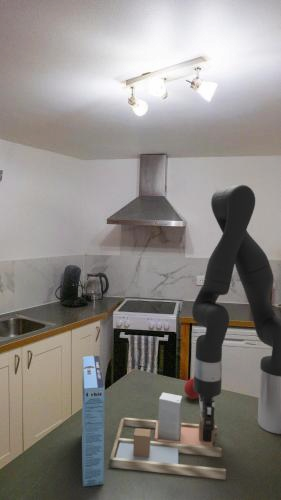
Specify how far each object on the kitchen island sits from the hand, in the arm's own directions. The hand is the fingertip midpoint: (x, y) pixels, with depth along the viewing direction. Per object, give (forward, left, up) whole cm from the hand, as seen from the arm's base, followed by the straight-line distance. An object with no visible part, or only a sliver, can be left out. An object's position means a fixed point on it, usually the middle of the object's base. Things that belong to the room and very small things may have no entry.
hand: (205, 431), depth 91 cm
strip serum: (+6, 0, -3) cm, 7 cm away
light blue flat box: (+30, +10, -4) cm, 32 cm away
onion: (+2, -24, -3) cm, 24 cm away
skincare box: (+10, 0, -3) cm, 11 cm away
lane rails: (+10, +4, -3) cm, 11 cm away
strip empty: (+15, +9, -3) cm, 18 cm away
